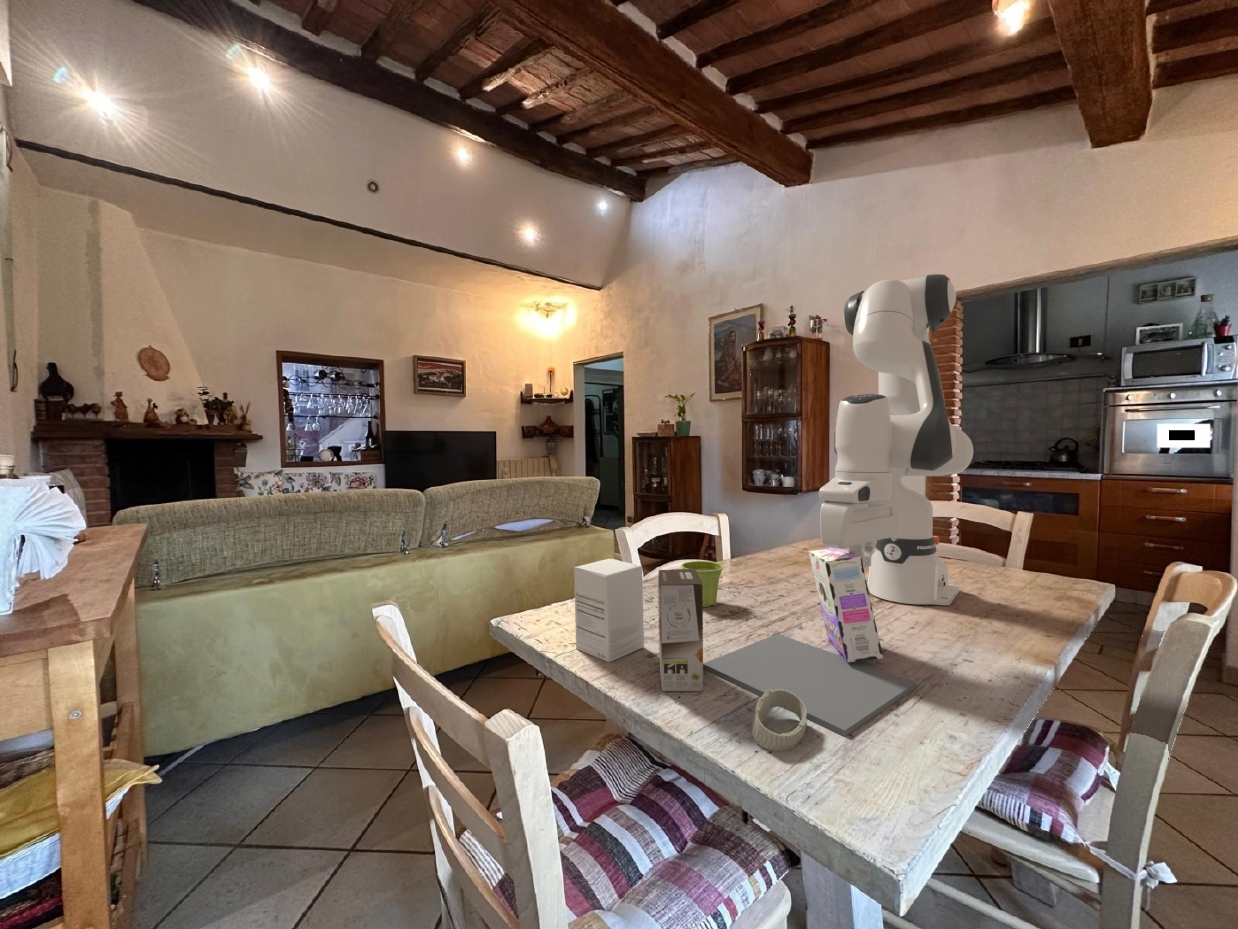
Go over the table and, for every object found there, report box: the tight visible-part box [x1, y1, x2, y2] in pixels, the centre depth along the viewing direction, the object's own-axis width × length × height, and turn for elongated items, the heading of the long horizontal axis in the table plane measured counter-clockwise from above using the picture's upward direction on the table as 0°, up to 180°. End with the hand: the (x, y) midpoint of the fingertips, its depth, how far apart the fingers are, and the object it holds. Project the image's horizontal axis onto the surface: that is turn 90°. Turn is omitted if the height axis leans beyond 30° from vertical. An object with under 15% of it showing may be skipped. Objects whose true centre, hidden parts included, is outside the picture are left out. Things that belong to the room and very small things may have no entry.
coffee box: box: [657, 568, 704, 692], centre depth 78 cm, size 9×6×16 cm
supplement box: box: [573, 558, 645, 663], centre depth 90 cm, size 9×9×15 cm
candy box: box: [808, 547, 884, 663], centre depth 86 cm, size 14×6×16 cm, turn 170°
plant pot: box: [680, 560, 724, 608], centre depth 114 cm, size 9×9×9 cm
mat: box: [703, 633, 918, 738], centre depth 78 cm, size 20×24×1 cm
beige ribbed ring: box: [750, 689, 809, 752], centre depth 63 cm, size 9×6×5 cm
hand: (861, 567), depth 87 cm, fingers closed
